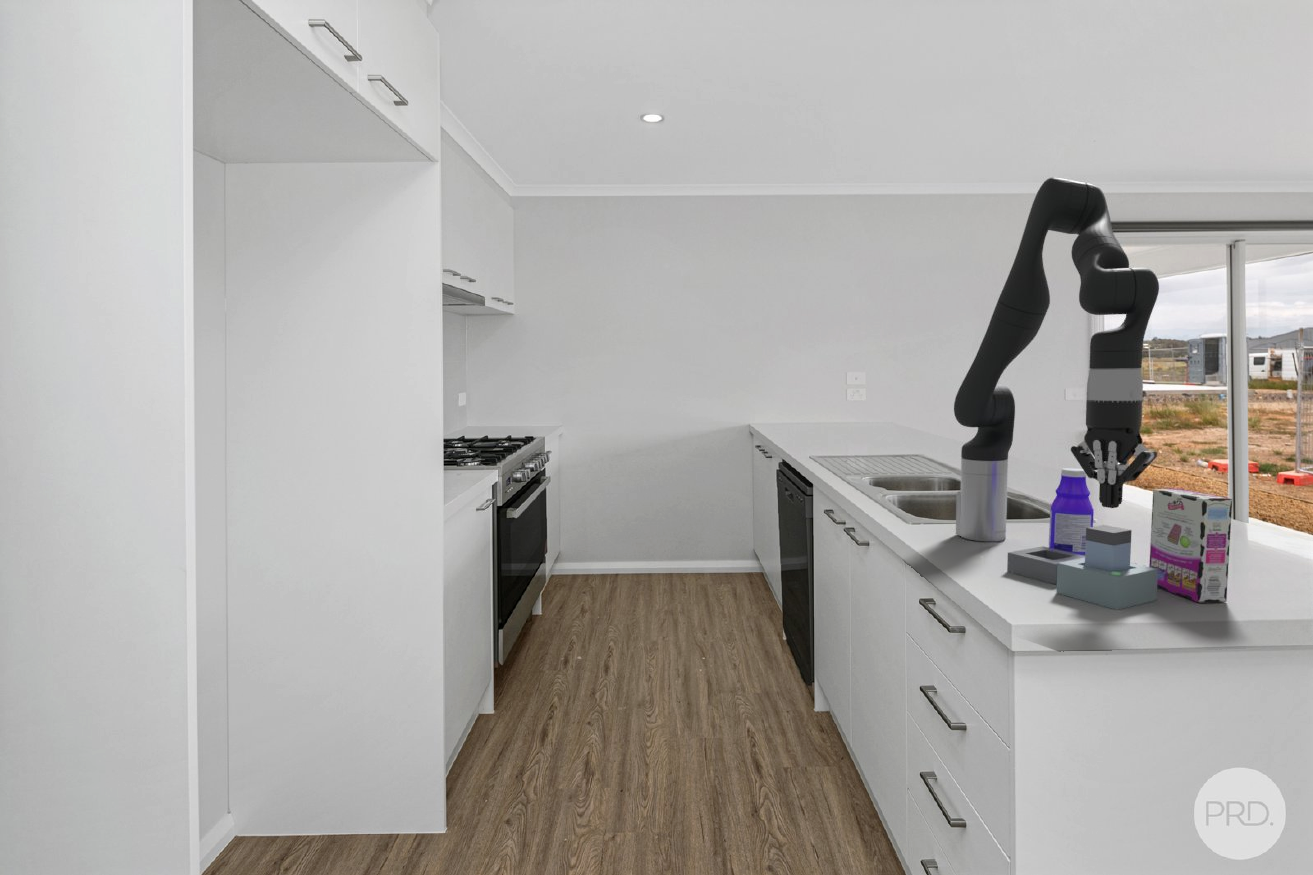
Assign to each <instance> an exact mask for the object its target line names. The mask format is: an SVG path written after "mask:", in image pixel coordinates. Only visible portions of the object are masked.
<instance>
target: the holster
mask: <svg viewBox="0 0 1313 875" xmlns="http://www.w3.org/2000/svg"><path fill="white" fill-rule="evenodd" d="M1080 558H1085V556H1084V555H1079V554H1075V553H1070V552H1066V551H1061V550H1057V549H1052V548H1049V546H1043V545H1042V546H1038V547H1032V548H1025V549H1021V550H1013V551H1008V552H1007V564H1006V567H1007V568H1006V569H1007V570H1006V572H1008V573H1012V574H1015V575H1019V576H1023V577H1025V578H1026V577H1027V578H1030V579H1033V580H1037V581H1041V582H1045V583H1049V584H1052V585H1057V564H1058V563H1059V562H1065V561H1070V560H1075V559H1080Z"/></svg>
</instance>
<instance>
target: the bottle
mask: <svg viewBox="0 0 1313 875" xmlns="http://www.w3.org/2000/svg"><path fill="white" fill-rule="evenodd" d="M1060 476H1061V477H1060V481H1059V484H1058V486H1057V488H1056V489H1055V493H1056V494H1055V495H1056V496H1055V498H1054V499H1053V501H1052V502H1051V505H1050V510H1049V511H1050V513H1049V532H1048V548H1052V549H1057V550H1061V551H1066V552H1070V553H1075V554H1079V555H1084V556H1085V545H1086V528H1088V527H1094V516H1095V515H1094V514H1095V513H1094V510H1095V509H1094V508H1093V505H1092V502H1091V499H1090V494H1091V491H1090V490H1089V488H1088V485H1087V475H1086V473H1085V472H1084V470H1083V469H1082V468H1077V467H1076V468H1075V467H1063V468H1062V469H1061V474H1060Z"/></svg>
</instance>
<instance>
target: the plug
mask: <svg viewBox="0 0 1313 875" xmlns="http://www.w3.org/2000/svg"><path fill="white" fill-rule="evenodd" d="M1131 549H1132V529H1128V528H1122V527H1117V526H1112V525H1107V524H1106V525H1105V524H1101V525H1096V526H1094V525H1093V527H1088V528H1086V545H1085V566H1087V567H1092V568H1096V569H1100V570H1104V571H1109V572H1113V571H1115V572H1119V571H1124V570H1129V569H1130V563H1131V553H1132V550H1131Z"/></svg>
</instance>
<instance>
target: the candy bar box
mask: <svg viewBox="0 0 1313 875" xmlns="http://www.w3.org/2000/svg"><path fill="white" fill-rule="evenodd" d="M1233 501H1234V500H1233V499H1232V498H1229V497H1222V496H1218V495H1214V494H1208V493H1203V492H1198V491H1191V490H1186V489H1182V488H1181V489H1179V488H1156V489H1152V506H1151V508H1152V509H1151V524H1150V525H1151V527H1150V528H1151V530H1150V543H1149V544H1150V546H1149V564H1148V567H1151V568H1156V569H1158V580H1157V589H1161V590H1164V591H1166V592H1168V593H1171V594H1174V595H1178V596H1180V597H1183V598H1186V599H1188V600H1191V601H1193V602H1196V603H1198V604H1199V603H1200V604H1201V603H1205V604H1206V603H1207V604H1208V603H1212V604H1213V603H1226V602H1227V601H1228V600H1227V599H1228V598H1227V597H1228V580H1229V564H1230V563H1229V562H1230V546H1231V545H1230V544H1231V531H1232V530H1231V528H1232V526H1231V525H1232V513H1233V511H1232V510H1233Z"/></svg>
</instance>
